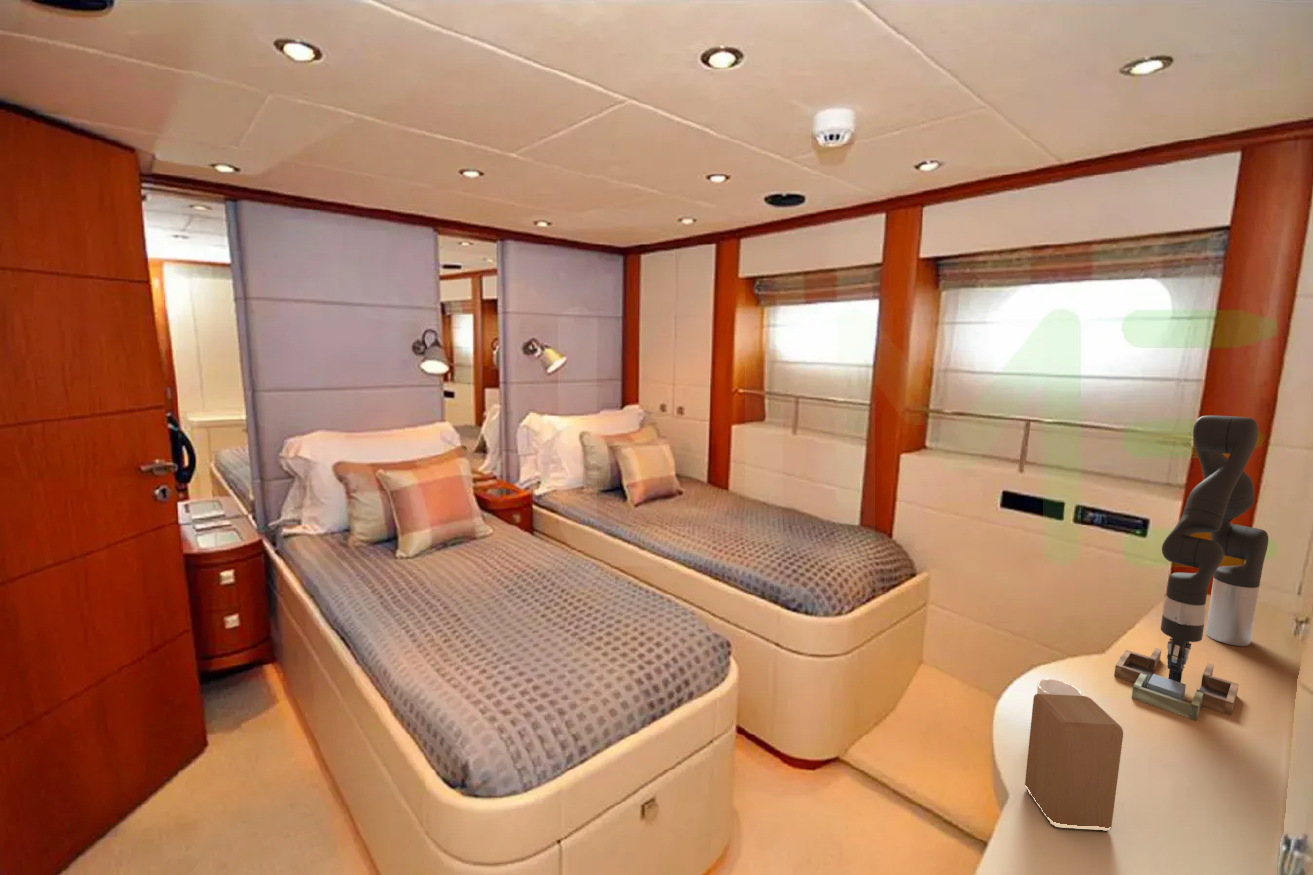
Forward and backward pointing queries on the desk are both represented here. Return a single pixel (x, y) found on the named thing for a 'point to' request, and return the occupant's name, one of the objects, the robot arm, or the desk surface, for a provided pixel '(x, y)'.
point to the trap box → (1210, 695)
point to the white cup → (1056, 688)
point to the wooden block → (1073, 760)
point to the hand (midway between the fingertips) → (1174, 682)
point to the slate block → (1167, 687)
